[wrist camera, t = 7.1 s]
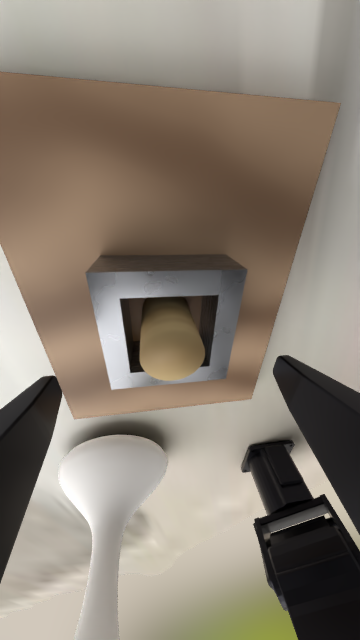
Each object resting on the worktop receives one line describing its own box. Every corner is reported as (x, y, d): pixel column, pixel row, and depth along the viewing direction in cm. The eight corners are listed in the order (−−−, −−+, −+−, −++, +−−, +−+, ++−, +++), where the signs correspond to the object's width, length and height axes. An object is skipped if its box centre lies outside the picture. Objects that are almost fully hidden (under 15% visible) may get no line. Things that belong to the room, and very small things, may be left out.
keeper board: (244, 386, 20) (277, 448, 15) (79, 404, 18) (53, 482, 13) (316, 115, 10) (487, 30, 5) (-40, 86, 8) (-358, -107, 3)
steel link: (212, 348, 15) (226, 378, 13) (117, 355, 14) (111, 389, 12) (225, 254, 12) (247, 269, 9) (100, 255, 11) (85, 272, 8)
